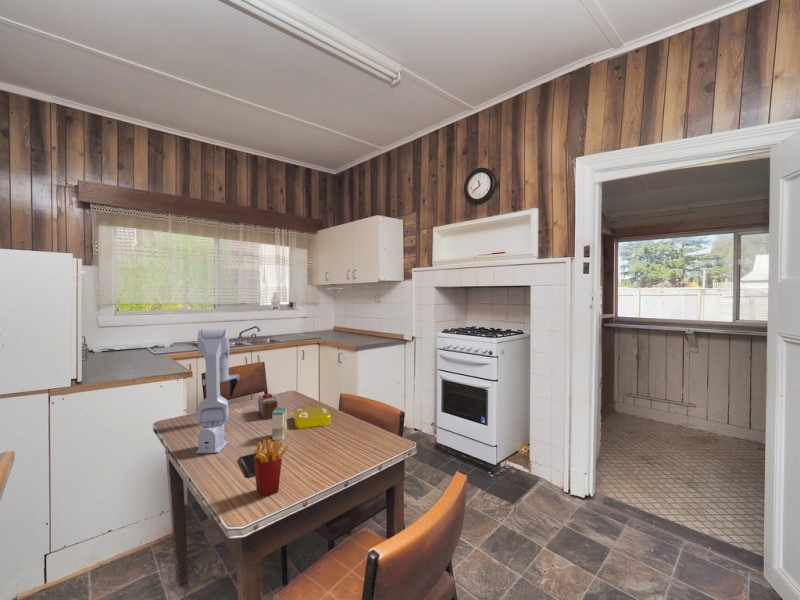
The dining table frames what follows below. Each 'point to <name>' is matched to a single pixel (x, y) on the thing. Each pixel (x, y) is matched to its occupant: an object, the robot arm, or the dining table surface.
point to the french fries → (268, 467)
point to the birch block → (279, 423)
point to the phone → (248, 464)
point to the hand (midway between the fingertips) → (221, 397)
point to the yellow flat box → (311, 417)
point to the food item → (267, 405)
